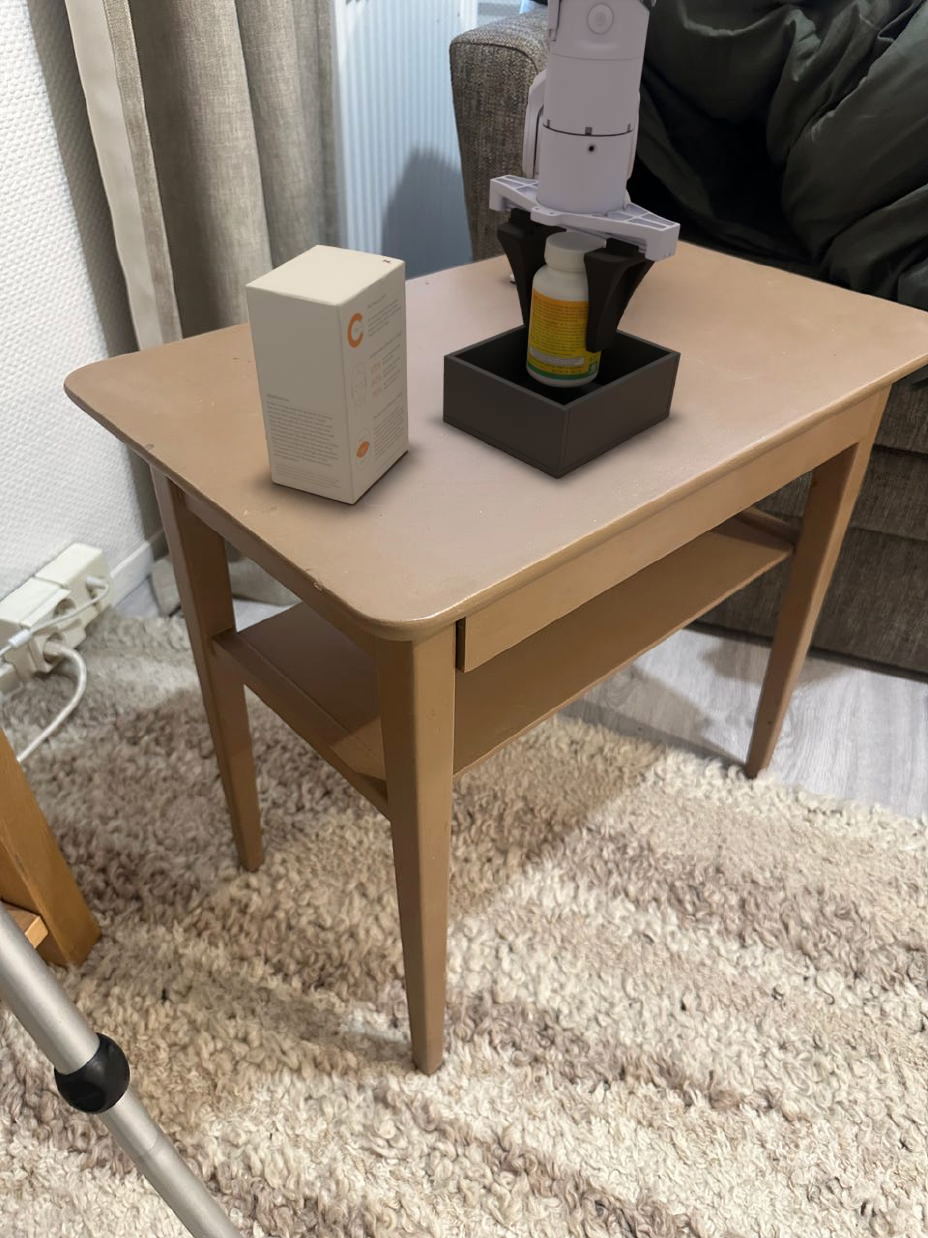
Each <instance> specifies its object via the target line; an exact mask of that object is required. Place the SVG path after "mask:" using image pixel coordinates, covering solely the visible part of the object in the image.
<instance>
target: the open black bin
mask: <svg viewBox="0 0 928 1238" xmlns="http://www.w3.org/2000/svg"><path fill="white" fill-rule="evenodd" d="M528 339H529V327H526V326H524V324H523V323H522V324H521V325H518V326H515V327H512V328H510V329H508V330H505V331H503V332H500V333H498V334H495V335H492V336H490V337H488V338H485V339H483V340H480V341H477V342H475V343H473V344H470V345H467V346H465V347H462V348H461V349H457V350H455V351H452V352H449V353H447V354H445V355H443V379H442V382H443V387H442V395H443V396H442V421H444V423H445V422H446V423H448V424H449V425H451V426H453V427H456V428H457V429H459V430H461V431H463V432H465V433H467V434H469V435H471V436H473V437H474V438H477V439H479V440H481V441H483V442H485V443H487V444H489V445H491V446H493V447H494V448H496V449H499V450H500V451H503V452H505V453H506V454H509V455H511V456H513V457H515V458H517V459H518V460H521V461H523V462H524V463H527V464H529V465H531V466H532V467H534V468H537V469H538V470H541V471H543V472H544V473H545V474H548V475H550V476H552V477H554V478H556V479H559V478H560V477H562V476H564V475H566V474H567V473H570V472H571V471H573V470H575V469H576V468H578V467H580V466H582V465H584V464H585V463H587V462H589V461H591V460H593V459H594V458H596V457H598V456H600V455H602V454H603V453H605V452H607V451H609V450H611V449H612V448H615V447H616V446H618V445H620V444H622V443H623V442H625V441H627V440H628V439H630V438H632V437H633V436H635V435H638V434H639V433H641V432H643V431H645V430H647V429H648V428H651V427H652V426H654V425H655V424H657V423H659V422H661V421H663V420H665V419H667V418H668V417H670V412H671V407H672V402H673V396H674V391H675V388H676V387H675V386H676V381H677V377H678V371H679V367H680V366H679V365H680V361H681V357H682V356H681V355H682V354H681V352H679V351H677V350H675V349H672V348H669V347H667V346H663V345H661V344H659V343H656V342H653V341H651V340H648V339H645V338H642V337H640V336H637V335H634V334H632V333H629V332H626V331H623V330H621V329H618V328H617V330H616V333H615V336H614V338H613V341H612V344H611V346H610V347H608V348H606V349H604V350H602V351H601V354H600V361H599V367H598V373H597V376H596V377H595V378H594V379H593V380H592V381H591V382H589V383H587V384H585V385H582V386H578V387H553V386H549V385H546V384H543V383H541V382H539V381H537V380H536V379H534V378H533V377H532V376H531V375H530V374H529V373H528V371H527V366H526V364H527V352H528Z"/></svg>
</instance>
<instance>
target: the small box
mask: <svg viewBox="0 0 928 1238" xmlns="http://www.w3.org/2000/svg"><path fill="white" fill-rule="evenodd" d="M244 289H245V297H246V304H247V310H248V311H247V312H248V318H249V319H248V320H249V325H250V334H251V340H252V347H253V353H254V360H255V369H256V375H257V383H258V391H259V397H260V405H261V412H262V419H263V426H264V432H265V433H264V435H265V441H266V447H267V455H268V462H269V470H270V476H271V480H272V482H273V483H274V484H278V485H282V486H285V487H289V488H292V489H296V490H300V491H305V492H307V493H310V494H314V495H317V496H321V497H325V498H327V499H331V500H335V501H338V502H339V501H340V502H343V503H347V504H350V505H353V504H356V502H357V501H358V500H359V499H360V498H361V497H362V496H363V495H364V494H365V492H367V491H368V490H369V489H370V488H371V487H372V486H373V485H374V484H375V483H376V482H377V481H378V480H379V479H380V478H381V477H382V476H383V475H384V474H385V473H386V472H387V471H388V470H389V469H390V468H391V467H392V466H393V465H394V464H395V463H396V462H397V461H398V460H399V459H400V458H401V457H402V456H403V455H404V454H405V453H406V452H407V451H408V450H409V449H410V441H409V439H410V438H409V404H408V352H407V351H408V350H407V349H408V348H407V347H408V344H407V343H408V342H407V298H406V297H407V295H406V294H407V293H406V292H407V291H406V261H405V260H402V259H398V258H394V257H391V256H385V255H381V254H375V253H371V252H365V251H359V250H353V249H347V248H341V247H337V246H336V247H335V246H329V245H323V244H316V245H314V246H313V247H311V248H310V249H308V250H306V251H303V252H302V253H301V254H299V255H297V256H295V257H294V258H291V259H290V260H288V261H286V262H285V263H283V264H281V265H279V266H277V267H275V268H274V269H273V270H270V271H269V272H267V273H265V274H263V275H262V276H260V277H257V278H256V279H255V280H253V281H251V282H249V283H247V284H245V285H244Z"/></svg>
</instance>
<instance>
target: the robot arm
mask: <svg viewBox="0 0 928 1238" xmlns="http://www.w3.org/2000/svg"><path fill="white" fill-rule="evenodd" d="M656 3H657V0H650V4H651V7H653V8H654V7H655V5H656ZM649 21H650V10H649V9H648V7H647V5H646V4H645V3H644V0H547V26H546V27H547V29H546V38H547V39H548V40H549V42H550V43H549V48H548V49H547V58H546V68H544V69H543V70H542V71H541V72H539V73H538V74H537V75H535V77H534V78H533V80H532V84H531V85H530V86H529V88H528V95H527V98H528V99H527V106H526V109H525V117H524V119H525V120H524V131H523V144H522V145H523V146H522V149H523V150H522V161H521V162H522V163H521V167H522V168H521V169H522V172H523V173H524V175H525V176H526V178H525V177H520V176H516V175H511V174H507V175H502V176H498V177H494V178H490V180H489V198H488V199H489V201H488V209H490V210H492V211H496V212H504V211H509V212H510V216H509V217H508V219H507V221H506V222H503V223H500V224H499V225H497V227H496V238H497V240H498V242H499V243H500V245H501V247H502V249H503V252H504V253H505V256H506V258H507V261H508V263H509V267H510V269H511V272H512V274H510V275H509V281H511V282H514V283H515V286H516V287H515V288H516V291H517V295H518V301H519V306H520V313H521V318H522V325H523V324H524V326H526V327H529V326H530V314H531V301H532V287H533V279H534V276H535V274H536V272H537V271H538V270H539V269H540V268H541V267H543V266H544V265H546V264H547V263H546V261H545V257H544V254H545V247H546V240H547V238H548V237H549V236H550V235H552V234H555V233H560V232H578V233H581V234H584V235H587V236H591V237H594V238H597V239H600V240H603V241H605V248H603V247H601V248H599V249H596V250H593V251H590V252H587V253H585V254H584V259H583V261H584V264H585V269H586V275H587V283H588V300H589V307H588V318H587V328H586V351H588V352H591V353H597V352H599V351H602V350H604V349H606V348H608V347H610V346H611V344H612V341H613V338H614V336H615V333H616V330H617V329H618V327H619V325H620V323H621V320H622V318H623V316H624V313H625V311H626V309H627V307H628V305H629V303H630V301H631V299H632V297H633V296H634V294H635V292H636V291H637V289H638V288H639V286H640V284H641V282H642V281H643V280H644V278H645V276H646V275H647V274H648V272H649V271H650V270H651V268H652V267H653V265H654V264H655V263H658V262H660V261H663V260H666V259H669V258H671V257H674V256H675V255H676V251H677V245H678V240H679V235H680V229H681V224H680V223H678V222H676V221H672V220H669V219H666V218H665V217H662V216H660V215H657V214H655V213H653V212H651V211H649V210H647V209H645V208H644V207H641V206H640V205H638V204H636V203H633V202H632V201H631V197H630V194H629V192H628V190H627V182H628V180H629V179H630V178H631V177H632V173H633V170H634V169H633V168H634V163H635V158H636V157H635V156H636V149H637V143H638V141H637V140H638V134H639V133H638V131H639V121H640V120H639V119H640V117H639V115H640V114H639V111H640V102H641V93H640V87H641V78H642V71H643V63H644V56H645V48H646V47H645V46H646V40H647V33H648V26H649Z"/></svg>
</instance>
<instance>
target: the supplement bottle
mask: <svg viewBox="0 0 928 1238" xmlns="http://www.w3.org/2000/svg"><path fill="white" fill-rule="evenodd" d="M601 247H603V248H605V241H603V240H600V239H597V238H594V237H591V236H587V235H584V234H581V233H578V232H560V233H555V234H552V235H550V236H549V237H548V238H547V240H546V247H545V254H544V257H545V261H546V263H547V264H546V265H544V266H543V267H541V268H540V269H539V270H538V271H537V272H536V274H535V276H534V279H533V287H532V301H531V314H530V326H529V339H528V352H527V364H526V366H527V371H528V373H529V374H530V375H531V376H532V377H533V378H534V379H536V380H537V381H539V382H541V383H543V384H546V385H549V386H553V387H578V386H582V385H585V384H587V383H589V382H591V381H592V380H593V379H594V378H595V377H596V376H597V373H598V367H599V361H600V354H601V351H599V352H597V353H591V352H588V351H586V328H587V318H588V307H589V300H588V283H587V275H586V269H585V264H584V261H583V259H584V254H585V253H587V252H590V251H593V250H596V249H599V248H601Z"/></svg>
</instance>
